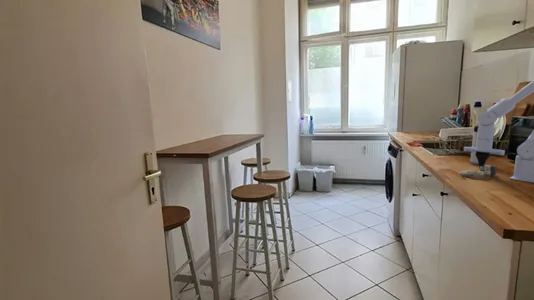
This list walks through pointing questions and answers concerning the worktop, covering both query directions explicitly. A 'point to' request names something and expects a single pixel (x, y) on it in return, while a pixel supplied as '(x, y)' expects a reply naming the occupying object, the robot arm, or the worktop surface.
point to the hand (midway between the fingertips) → (481, 168)
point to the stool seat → (476, 174)
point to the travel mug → (473, 156)
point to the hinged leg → (485, 167)
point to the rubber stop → (493, 170)
